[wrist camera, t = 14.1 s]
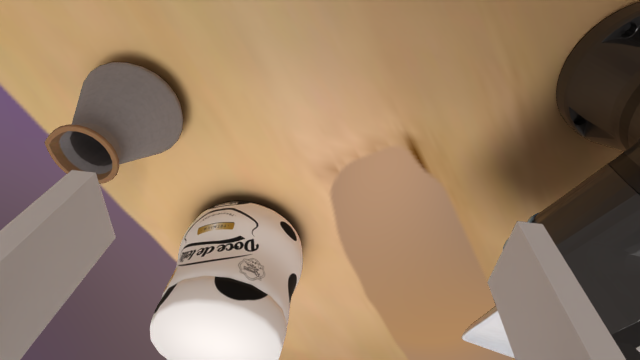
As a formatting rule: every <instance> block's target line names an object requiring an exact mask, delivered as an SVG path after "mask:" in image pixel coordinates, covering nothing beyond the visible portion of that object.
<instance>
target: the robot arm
mask: <svg viewBox="0 0 640 360" xmlns="http://www.w3.org/2000/svg"><path fill="white" fill-rule="evenodd" d="M556 98H557V105H558V109H559V111H560V114H561V116H562V117H563V119H564V120H565V121H566V122H567V123H568V124H569V125H570V126H571V127H572V128H573V129H574V130H575V131H576V132H577V133H578V134H580V135H581V136H583V137H584V138H586V139H588V140H590V141H592V142H595V143H598V144H602V145H605V146H608V147H612V148H615V149H618V150H622V151H625V152H624V153H622V154H621V155H620V156H618V157H617V158H616V159H614V160H613V161H611V162H610V163H608V164H607V165H605V166H604V167H603V168H601V169H600V170H598V171H597V172H596V173H594V174H593V175H592V176H590V177H589V178H588V179H586V180H585V181H583V182H582V183H581V184H579V185H578V186H577V187H575V188H574V189H573V190H571V191H570V192H568V193H567V194H566V195H564V196H563V197H561V198H560V199H559V200H557V201H556V202H554V203H553V204H551V205H550V206H549V207H547V208H546V209H544V210H543V211H542V212H540V213H537V214H535V215H533V216H531V218H530V219H529V220H528V222H520V221H517V223H516V225H515V227H514V229H513V231H512V233H511V235H510V237H509V238H508V240H507V241H506V242H505V244H504V247H503V251H502V253H501V255H500V257H499V259H498V261H497V263H496V266H495V268H494V270H493V272H492V274H491V276H490V278H489V280H488V285H489V288H490V290H491V293H492V296H493V299H494V301H495V304H496V307H497V310H498V313H499V315H500V318H501V321H502V324H503V326H504V329H505V332H506V335H507V338H508V340H509V343H510V346H511V349H512V351H513V354H514V357H515V360H640V2H638V3H635V4H632V5H630V6H628V7H625V8H623V9H621V10H619V11H618V12H616V13H614V14H612V15H611V16H609V17H608V18H606V19H605V20H603V21H602V22H600V23H599V24H598V25H597V26H595V27H594V28H593V29H592V30H591V31H590V32H589V33H588V34H587V35H586V36H585V37H584V38H583V39H582V40H581V41H580V42H579V43H578V44H577V46H576V47H575V48H574V50H573V51H572V52H571V54H570V55H569V57H568V59H567V60H566V62H565V64H564V66H563V68H562V71H561V73H560V76H559V80H558V84H557V91H556ZM114 239H115V234H114V231H113V227H112V224H111V221H110V218H109V214H108V211H107V208H106V204H105V201H104V198H103V195H102V191H101V188H100V185H99V182H98V178H97V175H96V173H94V172H85V171H77V170H71V171H70V172H69V173H68V174H67V175H65V176H64V177H63V178H62V179H61V180H60V181H58V182H57V183H56V184H55V185H54V186H52V187H51V188H50V189H49V190H48V191H47V192H45V193H44V194H43V195H42V196H41V197H40V198H39V199H37V200H36V201H35V202H34V203H33V204H31V205H30V206H29V207H28V208H26V209H25V210H24V211H23V212H22V213H21V214H19V215H18V216H17V217H16V218H15V219H14V220H13V221H11V222H10V223H9V224H8V225H6V226H5V227H4V228H3V229H2V230H1V231H0V360H20V359H21V358H22V356H23V355H24V354H25V353H26V351H27V350H28V349H29V348H30V346H31V345H32V344H33V342H34V341H35V340H36V338H37V337H38V336H39V335H40V333H41V332H42V331H43V330H44V328H45V327H46V326H47V325H48V323H49V322H50V321H51V319H52V318H53V317H54V316H55V314H56V313H57V312H58V310H59V309H60V308H61V307H62V305H63V304H64V303H65V302H66V300H67V299H68V298H69V296H70V295H71V294H72V293H73V291H74V290H75V289H76V288H77V286H78V285H79V284H80V282H81V281H82V279H84V277H85V276H86V275H87V273H88V272H89V271H90V270H91V268H92V267H93V266H94V264H95V263H96V262H97V261H98V259H99V258H100V256H102V254H103V253H104V252H105V250H106V249H107V248H108V247H109V245H110V244H111V243H112V242H113V240H114Z"/></svg>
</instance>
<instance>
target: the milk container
mask: <svg viewBox="0 0 640 360" xmlns="http://www.w3.org/2000/svg"><path fill="white" fill-rule="evenodd" d="M302 265H303V253H302V246H301V241H300V238H299V236H298V234H297V232H296V231H295V229H294V228H293V226H292V225H291V224H290V223H289V221H288V220H287V219H285V218H284V217H283V216H281V215H280V214H279V213H277V212H276V211H274V210H272V209H270V208H268V207H265V206H262V205H259V204H256V203H251V202H240V201H232V202H226V203H222V204H218V205H215V206H213V207H211V208H209V209H207V210H206V211H204V212H203V213H201V214H200V215H199V216H198V217H197V218H196V219H195V221H194V222H193V223H192V224H191V225H190V227H189V228H188V230H187V231H186V233H185V235H184V237H183V239H182V242H181V245H180V249H179V254H178V262H177V267H176V269H175V271H174V274H173V275H172V277H171V279H170V281H169V283H168V284H167V286H166V288H165V290H164V292H163V296H162V299H161V301H160V302H159V304H158V306H157V308H156V310H155V313H154V315H153V318H152V321H151V325H150V334H151V341H152V343H153V344H154V346H155V347H156V349H157V350H158V352H159V353H160V354H161V355H163V356H164V357H165V358H166V359H168V360H279V357H280V353H281V350H282V347H283V343H284V339H285V336H286V330H287V324H288V318H289V309H290V301H291V296H292V294H293V292H294V290H295V288H296V286H297V284H298V281H299V279H300V276H301V272H302Z"/></svg>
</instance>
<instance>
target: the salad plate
mask: <svg viewBox="0 0 640 360" xmlns="http://www.w3.org/2000/svg"><path fill="white" fill-rule="evenodd" d="M462 339H463V340H465V341H467V342H470V343H473V344H476V345H478V346H482V347H484V348H487V349H490V350H493V351H496V352H498V353H501V354H504V355H507V356H510V357H512V358H515V357H514V354H513V351H512V349H511V346H510V343H509V340H508V338H507V335H506V332H505V329H504V326H503V324H502V321H501V318H500V315H499V313H498V310H497V307H496V306H495V307H494V308H492V309H491V310H490V311H488V312H487V313H486V314H485V315H483V316H482V317H480V318H479V319H478V320H476V321H475V322H474V323H473V324H471V325H470V326H469V327H468V328H467V329H466V330H465V332H464V333H463V335H462Z"/></svg>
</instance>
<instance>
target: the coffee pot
mask: <svg viewBox="0 0 640 360" xmlns="http://www.w3.org/2000/svg"><path fill="white" fill-rule="evenodd" d="M182 126H183V115H182V110H181V105H180V103H179V101H178V98H177V96H176V94H175V93H174V91H173V90H172V89H171V88H170V86H169V85H168V84H167V83H166V82H165V81H164V80H163V79H162V78H161V77H159V76H158V75H157V74H156V73H154V72H152V71H150V70H148V69H146V68H144V67H142V66H138V65H135V64H131V63H123V62H112V63H108V64H104V65H100V66H99V67H97V68H96V69H94V70H93V71H91V72H90V73H89V75H88V76H87V78H86V79H85V81H84V82H83V86H82V89H81V93H80V96H79V100H78V104H77V107H76V111H75V114H74V118H73V122H72V125H65V126H60V127H58V128H57V129H55V130H54V131H53V132H52V133H51V134H50V135H49V136H48V138H47V139H46V141H45V145H46V147H47V150H48V152H49V153H50V155H51V157H52V158H53V160H54V161H55V163H56V164H57V165H58V166H59V167H60V168H61V169H62V170H63V171H64V172H65V173H67V174H68V173H69V172H70V171H71V170H77V171H85V172H94V173H96V175H97V178H98V182H99V184H101V183H106V182H108V181H110V180H112V179H113V178H114V177H115V176H116V175H117V173H118V170H119V164H122V163H126V162H130V161H133V160H137V159H141V158H145V157H148V156H152V155H156V154H159V153H162V152H164V151H166V150H168V149H169V148H171V147H172V146H173V145H174V144H175V143H176V142H177V141H178V139H179V136H180V134H181V132H182Z"/></svg>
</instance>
